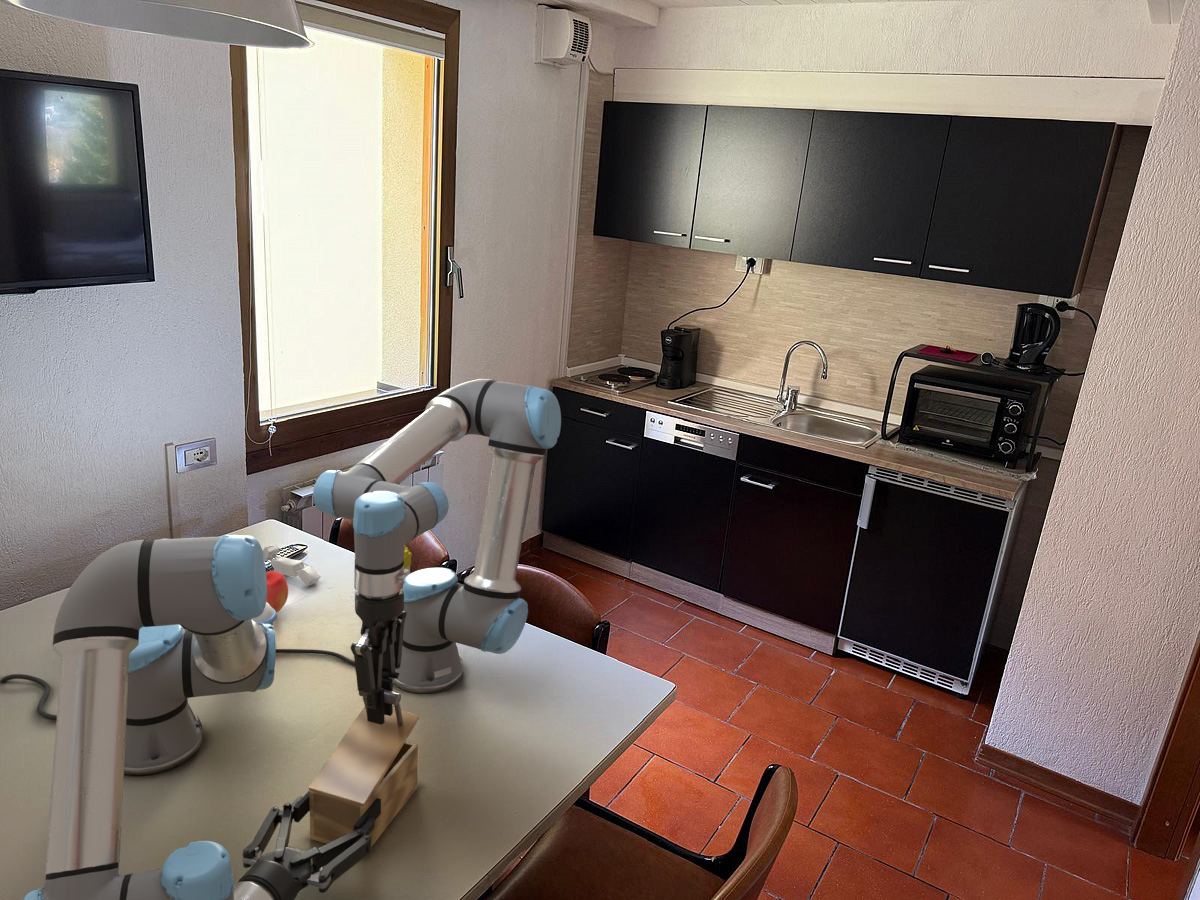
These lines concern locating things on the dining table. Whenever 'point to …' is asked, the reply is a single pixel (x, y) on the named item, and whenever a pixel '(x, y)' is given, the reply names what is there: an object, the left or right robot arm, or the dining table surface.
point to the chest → (393, 790)
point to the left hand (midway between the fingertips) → (349, 796)
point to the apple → (276, 590)
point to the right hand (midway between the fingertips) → (380, 717)
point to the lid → (364, 754)
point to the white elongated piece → (290, 566)
